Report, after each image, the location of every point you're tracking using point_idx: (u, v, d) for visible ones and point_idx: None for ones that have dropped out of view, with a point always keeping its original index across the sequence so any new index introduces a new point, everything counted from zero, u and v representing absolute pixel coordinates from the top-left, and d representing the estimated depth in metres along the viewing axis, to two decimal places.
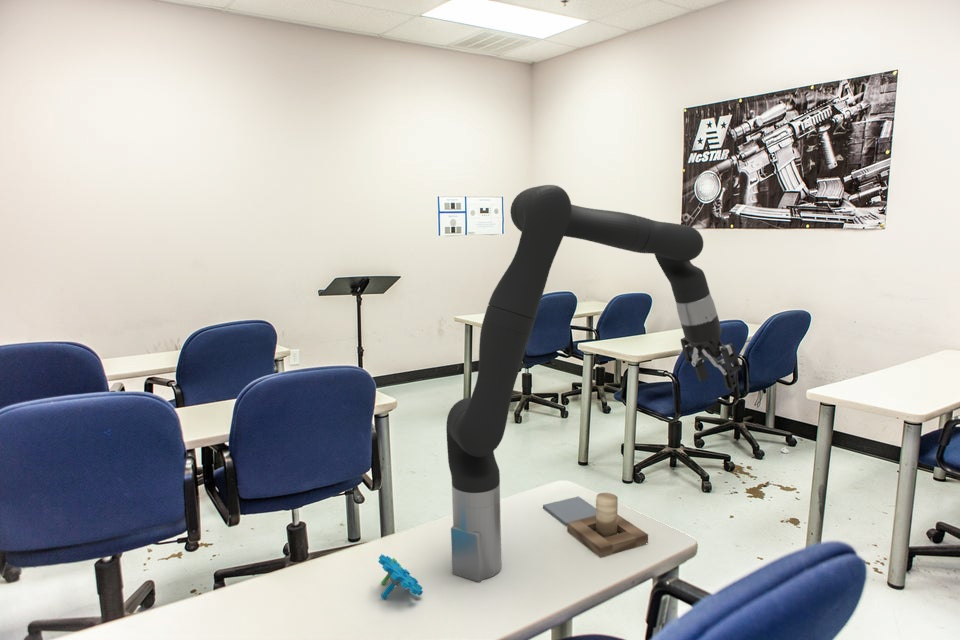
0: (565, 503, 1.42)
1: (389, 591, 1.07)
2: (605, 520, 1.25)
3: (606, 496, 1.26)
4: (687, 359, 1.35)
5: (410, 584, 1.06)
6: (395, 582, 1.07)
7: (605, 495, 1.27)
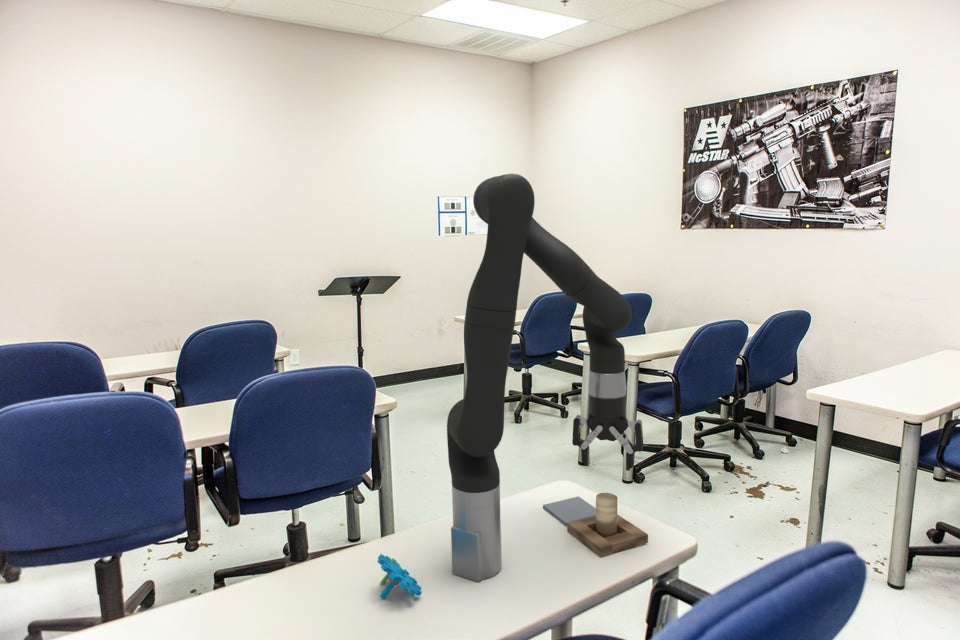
0: (565, 503, 1.42)
1: (388, 591, 1.07)
2: (605, 520, 1.25)
3: (605, 496, 1.26)
4: (576, 442, 1.25)
5: (408, 584, 1.06)
6: (394, 582, 1.07)
7: (604, 495, 1.27)
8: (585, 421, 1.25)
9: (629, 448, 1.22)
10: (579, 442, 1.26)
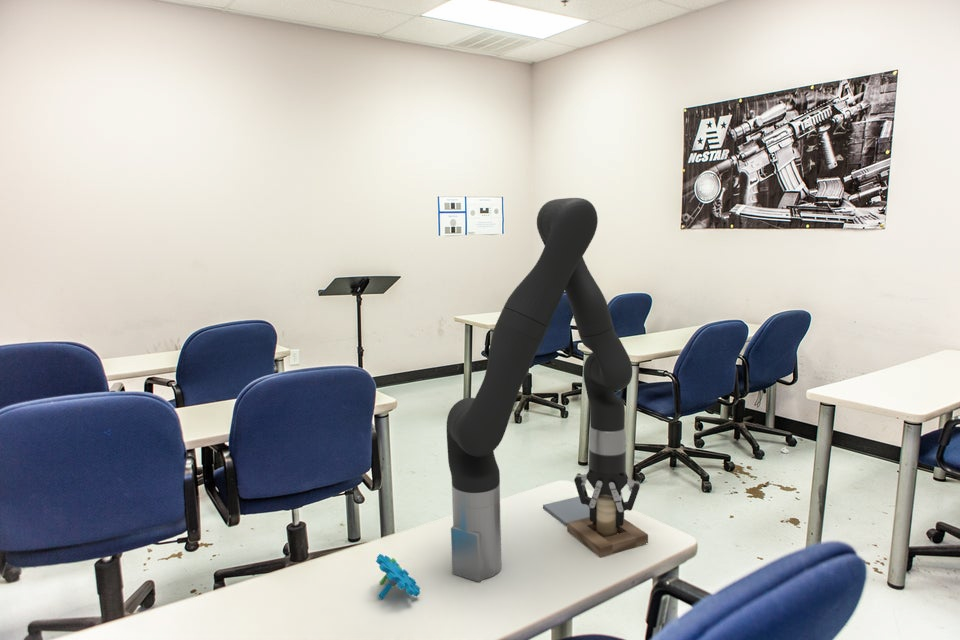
0: (565, 503, 1.42)
1: (386, 591, 1.07)
2: (605, 520, 1.25)
3: (606, 496, 1.26)
4: (584, 500, 1.27)
5: (407, 585, 1.06)
6: (392, 582, 1.07)
7: (604, 495, 1.27)
8: (585, 477, 1.27)
9: (619, 506, 1.24)
10: (587, 501, 1.27)
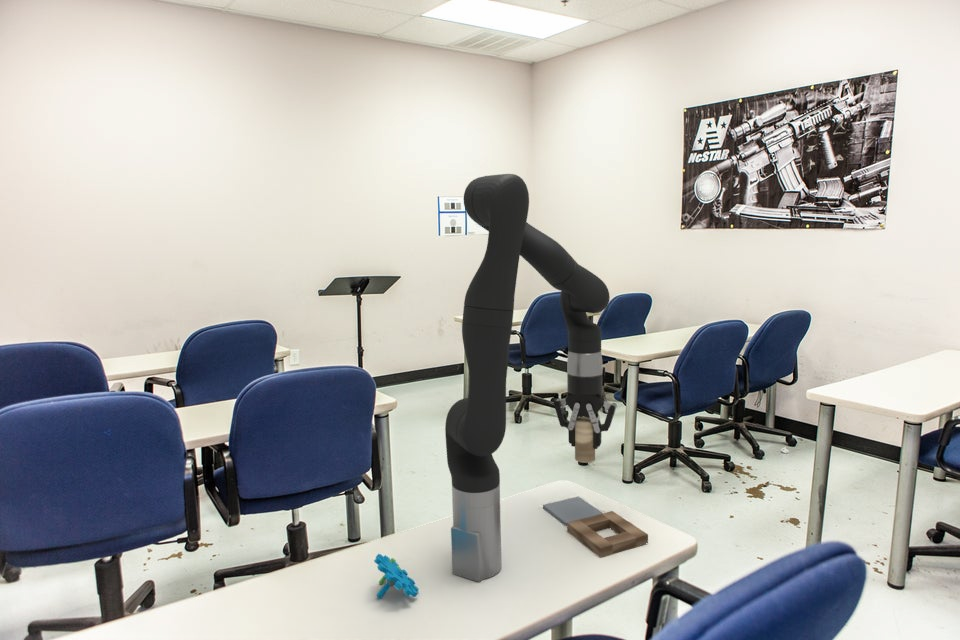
0: (565, 503, 1.42)
1: (384, 591, 1.07)
2: (583, 441, 1.30)
3: (584, 419, 1.32)
4: (563, 423, 1.32)
5: (405, 585, 1.06)
6: (390, 582, 1.07)
7: (583, 418, 1.32)
8: (564, 401, 1.32)
9: (596, 427, 1.30)
10: (566, 423, 1.33)
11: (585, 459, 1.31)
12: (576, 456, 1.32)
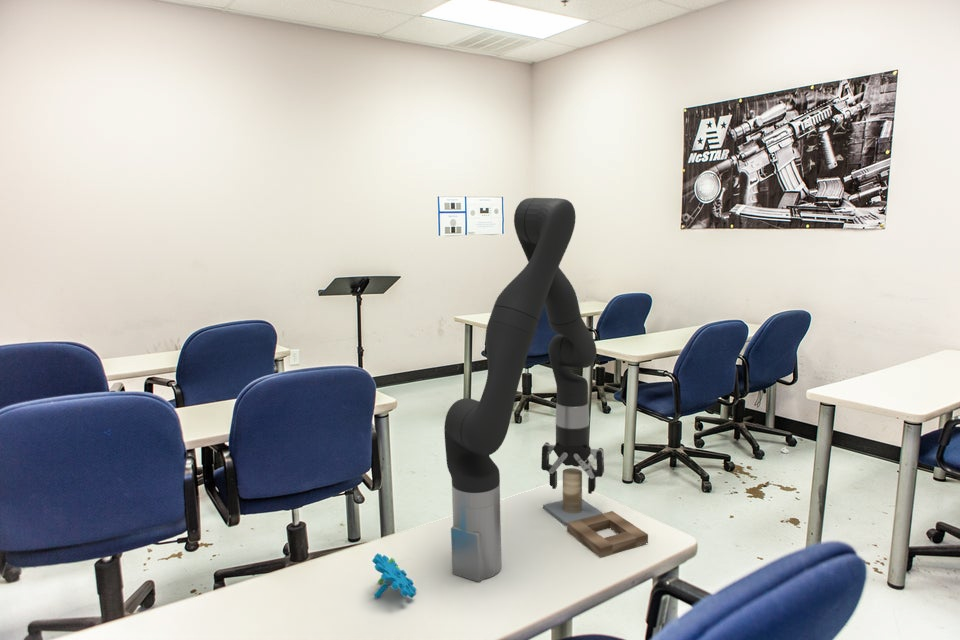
0: None
1: (382, 591, 1.08)
2: (571, 493, 1.36)
3: (571, 471, 1.38)
4: (544, 467, 1.39)
5: (402, 585, 1.06)
6: (388, 582, 1.07)
7: (570, 470, 1.38)
8: (552, 448, 1.38)
9: (591, 473, 1.35)
10: (547, 467, 1.39)
11: (572, 510, 1.37)
12: (564, 506, 1.38)
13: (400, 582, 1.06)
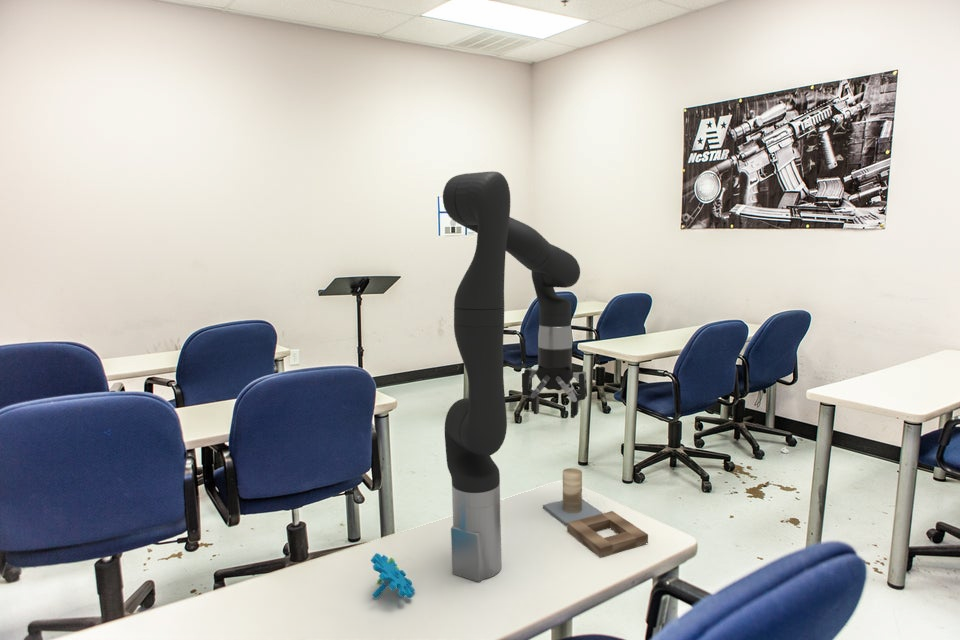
0: None
1: (380, 590, 1.08)
2: (571, 493, 1.36)
3: (571, 471, 1.38)
4: (526, 391, 1.36)
5: (400, 586, 1.06)
6: (386, 582, 1.07)
7: (570, 470, 1.38)
8: (535, 372, 1.36)
9: (573, 397, 1.33)
10: (529, 392, 1.37)
11: (572, 510, 1.37)
12: (564, 506, 1.38)
13: (398, 582, 1.06)
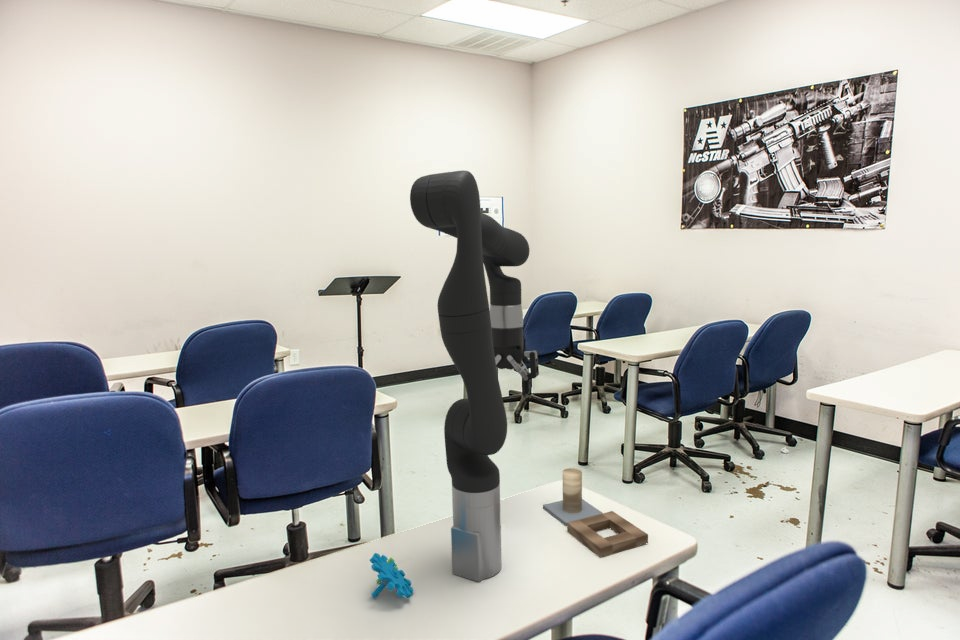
0: None
1: (379, 590, 1.08)
2: (571, 493, 1.36)
3: (571, 471, 1.38)
4: None
5: (398, 586, 1.06)
6: (385, 582, 1.07)
7: (570, 470, 1.38)
8: None
9: (525, 375, 1.33)
10: None
11: (572, 510, 1.37)
12: (564, 506, 1.38)
13: (396, 582, 1.06)
